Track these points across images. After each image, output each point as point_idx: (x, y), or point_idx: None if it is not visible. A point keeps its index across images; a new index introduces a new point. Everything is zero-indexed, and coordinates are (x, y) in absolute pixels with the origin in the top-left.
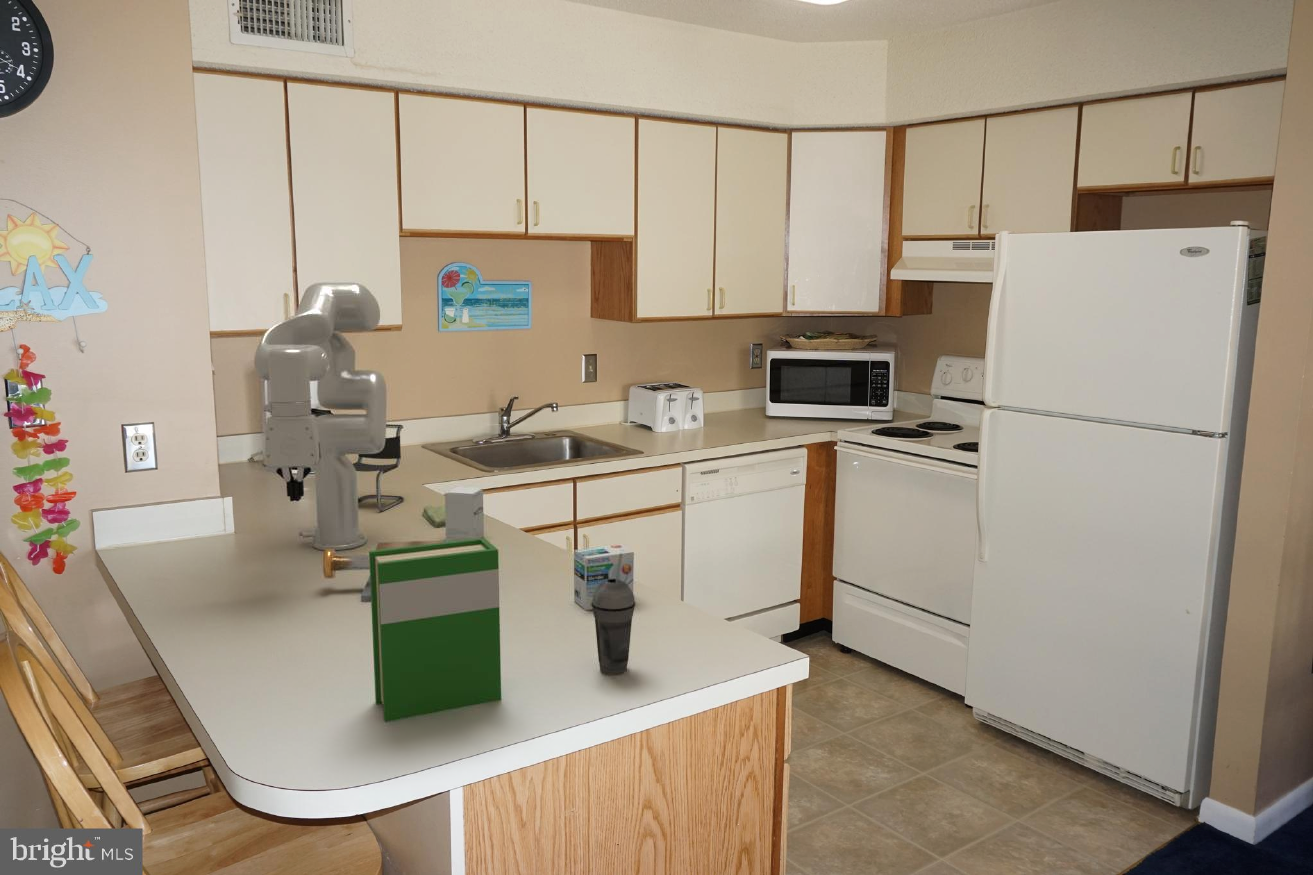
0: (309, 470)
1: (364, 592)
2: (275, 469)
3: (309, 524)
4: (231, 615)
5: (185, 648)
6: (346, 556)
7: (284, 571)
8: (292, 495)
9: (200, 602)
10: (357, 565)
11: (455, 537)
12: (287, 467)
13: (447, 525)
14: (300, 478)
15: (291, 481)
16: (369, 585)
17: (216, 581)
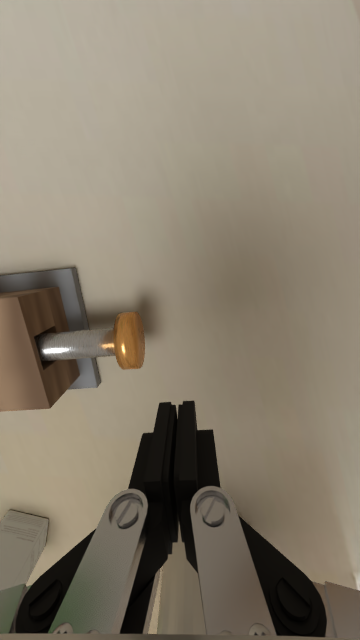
0: (27, 603)
1: (71, 285)
2: (342, 635)
3: None
4: (269, 202)
5: (308, 2)
6: (94, 346)
7: (240, 415)
8: (182, 416)
9: (338, 274)
10: (77, 331)
11: (29, 523)
12: (196, 635)
13: (29, 547)
14: (119, 512)
15: (187, 497)
16: (76, 321)
17: (334, 376)
